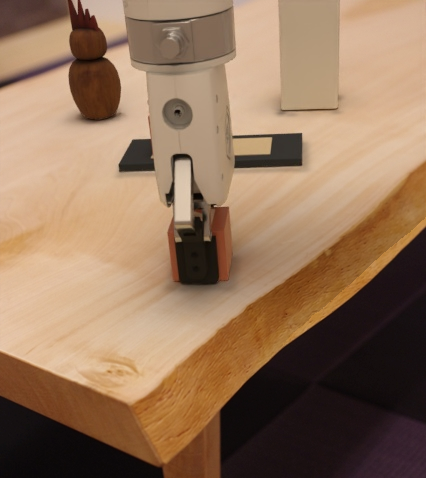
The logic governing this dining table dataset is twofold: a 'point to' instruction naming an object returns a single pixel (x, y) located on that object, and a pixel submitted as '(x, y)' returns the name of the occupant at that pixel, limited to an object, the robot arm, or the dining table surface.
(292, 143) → the word mat
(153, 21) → the robot arm
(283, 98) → the milk carton
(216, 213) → the red letter k block
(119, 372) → the dining table surface
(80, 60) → the wooden figurine
